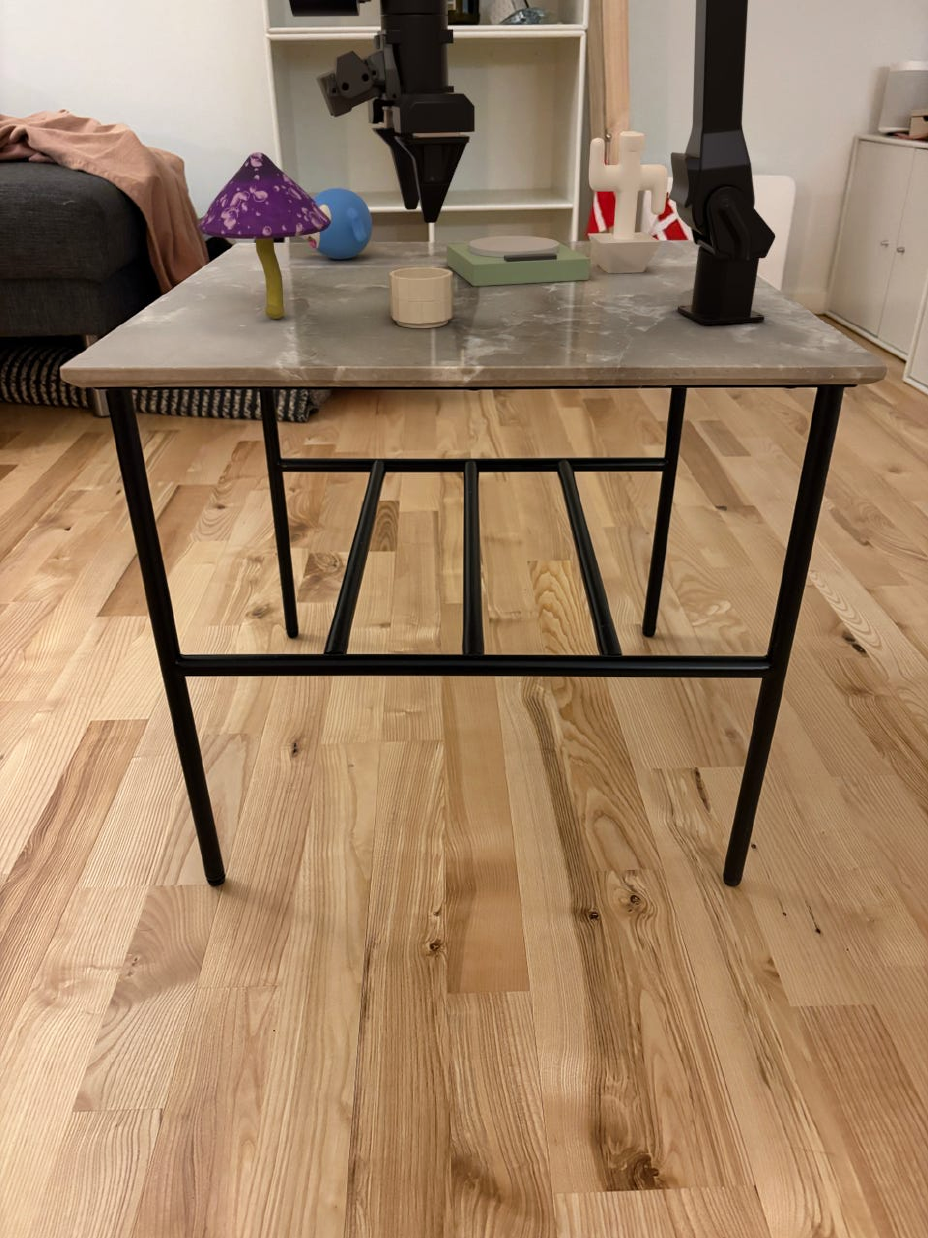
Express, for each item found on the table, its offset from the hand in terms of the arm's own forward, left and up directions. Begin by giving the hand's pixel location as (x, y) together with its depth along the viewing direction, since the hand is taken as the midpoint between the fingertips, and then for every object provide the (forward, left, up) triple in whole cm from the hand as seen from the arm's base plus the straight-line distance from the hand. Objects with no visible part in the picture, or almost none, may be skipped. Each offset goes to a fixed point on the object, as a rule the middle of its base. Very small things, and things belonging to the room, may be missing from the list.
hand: (420, 215), depth 86 cm
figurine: (+20, -29, -10) cm, 37 cm away
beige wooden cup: (0, 0, -10) cm, 10 cm away
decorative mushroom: (+5, +14, -10) cm, 18 cm away
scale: (+22, -16, -10) cm, 29 cm away
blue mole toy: (+36, +5, -10) cm, 38 cm away
